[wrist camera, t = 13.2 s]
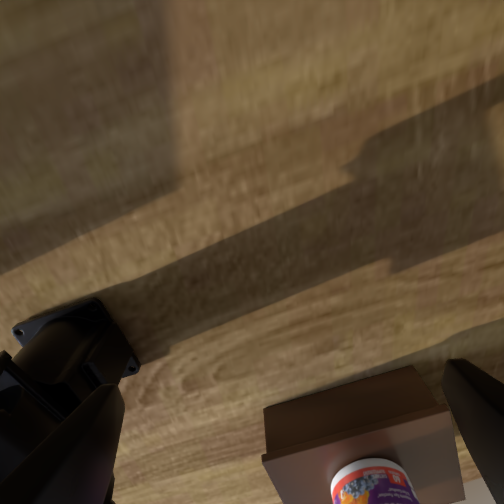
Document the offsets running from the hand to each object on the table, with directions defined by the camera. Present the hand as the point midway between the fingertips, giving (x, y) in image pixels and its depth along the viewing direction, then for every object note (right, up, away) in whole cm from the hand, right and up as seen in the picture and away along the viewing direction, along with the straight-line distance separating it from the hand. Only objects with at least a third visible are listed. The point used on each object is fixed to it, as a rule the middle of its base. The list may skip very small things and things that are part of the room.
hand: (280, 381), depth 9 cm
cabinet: (+7, -11, +19) cm, 23 cm away
